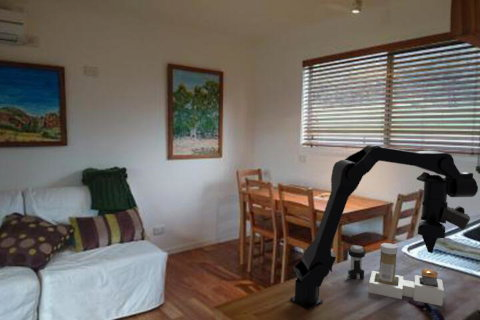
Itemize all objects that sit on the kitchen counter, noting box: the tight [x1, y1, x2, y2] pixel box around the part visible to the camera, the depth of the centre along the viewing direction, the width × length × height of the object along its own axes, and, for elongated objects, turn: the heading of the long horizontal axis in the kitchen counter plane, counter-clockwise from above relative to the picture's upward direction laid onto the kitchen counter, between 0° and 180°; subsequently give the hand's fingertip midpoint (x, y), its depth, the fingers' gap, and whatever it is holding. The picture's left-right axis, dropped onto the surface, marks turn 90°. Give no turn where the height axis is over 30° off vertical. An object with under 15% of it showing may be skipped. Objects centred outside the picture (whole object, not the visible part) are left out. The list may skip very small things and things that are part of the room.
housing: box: [368, 270, 445, 307], centre depth 107 cm, size 19×9×4 cm, turn 65°
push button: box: [343, 244, 367, 281], centre depth 115 cm, size 7×5×10 cm
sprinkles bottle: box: [378, 242, 398, 285], centre depth 108 cm, size 5×5×13 cm
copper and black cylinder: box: [421, 268, 439, 287], centre depth 104 cm, size 4×4×6 cm
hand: (430, 252), depth 103 cm, fingers closed
